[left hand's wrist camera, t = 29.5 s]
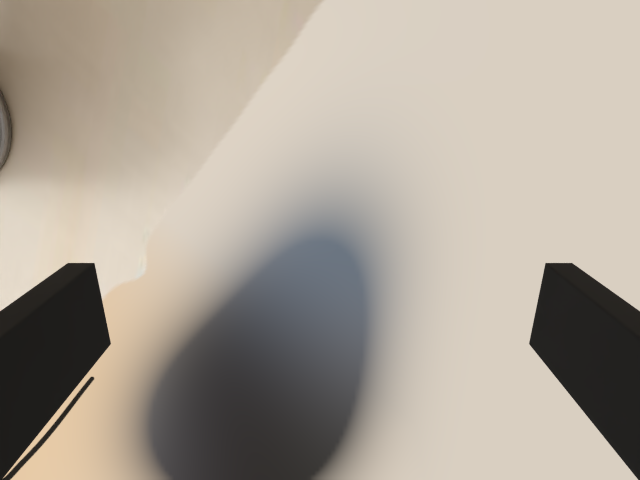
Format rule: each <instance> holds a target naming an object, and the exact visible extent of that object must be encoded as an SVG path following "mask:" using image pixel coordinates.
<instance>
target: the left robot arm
mask: <svg viewBox="0 0 640 480" xmlns="http://www.w3.org/2000/svg"><path fill="white" fill-rule="evenodd" d="M10 145H11V120H10V115H9V111H8V108H7V104H6V102H5V99H4V97H3V95H2V93H1V91H0V169H1V167H2V166H3V164H4V162H5V160H6V158H7V156H8V153H9V149H10ZM110 344H111V343H110V338H109V333H108V328H107V323H106V318H105V313H104V308H103V303H102V298H101V293H100V289H99V284H98V279H97V274H96V269H95V264H94V263H68V264H66V265H65V266H63V267H62V268H61V269H59V270H58V271H56V272H55V273H53V274H52V275H51V276H49V277H48V278H46V279H45V280H44V281H42V282H41V283H39V284H38V285H37V286H35V287H34V288H32V289H31V290H30V291H28V292H27V293H25V294H24V295H23V296H21V297H20V298H18V299H17V300H16V301H14V302H13V303H11V304H10V305H9V306H7V307H6V308H4V309H3V310H2V311H0V480H11V479H12V478H13V477H14V475H15V474H16V473H17V472H18V471H19V470H20V469H21V468H22V467H23V466H24V464H25V463H26V462H27V461H28V460H29V459H30V458H31V457H32V456H33V455H34V454H35V453H36V452H37V451H38V450H39V448H40V447H41V446H42V445H43V444H44V443H45V442H46V440H47V439H48V438H49V437H50V436H51V434H52V433H53V432H54V431H55V430H56V428H57V427H58V426H59V425H60V423H61V422H62V421H63V419H64V418H65V417H66V415H67V414H68V413H69V411H70V410H71V409H72V407H73V406H74V405H75V404H76V402H77V401H78V400H79V398H80V397H81V396H82V394H83V393H84V392H85V390H86V389H87V388H88V387H89V385H90V384H91V383H92V381H93V380H94V377H90V378H89V380H88V381H87V382H86V383H85V384H84V386H83V387H82V388H81V389H80V391H79V392H78V393H77V395H76V396H75V397H74V398H73V400H72V401H71V402H70V404H69V405H68V406H67V407H66V409H65V410H64V411H63V413H62V414H61V415H60V417H59V418H58V419H57V420H56V422H55V423H54V424H53V425H52V426H51V428H50V429H49V430H48V431H47V432H46V434H45V435H44V436H43V437H42V438H41V439H40V441H39V442H38V443H37V444H36V445H35V446H34V447H33V448H32V449H31V450H30V451H29V452H28V454H27V455H26V456H25V457H24V458H23V459H22V460H21V461H20V462H19V463H18V464H17V465H16V466H15V467H14V468H13V469H12V470H11V471H10V472H9V473H8V474H7V472H8V471H9V470H10V469H11V467H12V466H13V465H14V464H15V462H16V461H17V460H18V459H19V457H20V456H21V455H22V454H23V452H24V451H25V450H26V449H27V447H28V446H29V445H30V444H31V442H32V441H33V440H34V439H35V437H36V436H37V435H38V434H39V432H40V431H41V430H42V429H43V427H44V426H45V425H46V424H47V423H48V421H49V420H50V419H51V417H52V416H53V415H54V414H55V413H56V411H57V410H58V409H59V408H60V406H61V405H62V404H63V403H64V401H65V400H66V399H67V398H68V396H69V395H70V394H71V393H72V391H73V390H74V389H75V388H76V386H77V385H78V384H79V383H80V381H81V380H82V379H83V378H84V376H85V375H86V374H87V373H88V372H89V370H90V369H91V368H92V367H93V365H94V364H95V363H96V362H97V360H98V359H99V358H100V357H101V355H102V354H103V353H104V352H105V350H106V349H107V348H108V347H109V345H110ZM529 344H530V345H531V347H532V348H533V349H534V350H535V352H536V353H537V354H538V355H539V357H540V358H541V359H542V360H543V362H544V363H545V364H546V365H547V367H548V368H549V369H550V370H551V372H552V373H553V374H554V375H555V377H556V378H557V379H558V380H559V382H560V383H561V384H562V385H563V387H564V388H565V389H566V390H567V391H568V393H569V394H570V395H571V396H572V398H573V399H574V400H575V401H576V403H577V404H578V405H579V406H580V408H581V409H582V410H583V411H584V413H585V414H586V415H587V416H588V418H589V419H590V420H591V421H592V423H593V424H594V425H595V426H596V428H597V429H598V430H599V431H600V433H601V434H602V435H603V436H604V437H605V439H606V440H607V441H608V442H609V444H610V445H611V446H612V447H613V449H614V450H615V451H616V452H617V454H618V455H619V456H620V457H621V459H622V460H623V461H624V462H625V464H626V465H627V466H628V467H629V469H630V470H631V471H632V472H633V474H634V475H635V476H636V477H637V478H638V480H640V311H638V310H637V309H636V308H634V307H633V306H631V305H630V304H629V303H627V302H626V301H624V300H623V299H622V298H620V297H619V296H617V295H616V294H615V293H613V292H612V291H610V290H609V289H608V288H606V287H605V286H603V285H602V284H601V283H599V282H598V281H596V280H595V279H594V278H592V277H591V276H589V275H588V274H586V273H585V272H584V271H582V270H581V269H579V268H578V267H577V266H575V265H574V264H572V263H546V264H545V269H544V274H543V279H542V284H541V289H540V294H539V298H538V303H537V308H536V313H535V318H534V323H533V328H532V333H531V338H530V343H529ZM6 474H7V475H6ZM5 475H6V476H5ZM4 476H5V477H4ZM3 477H4V478H3Z"/></svg>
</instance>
